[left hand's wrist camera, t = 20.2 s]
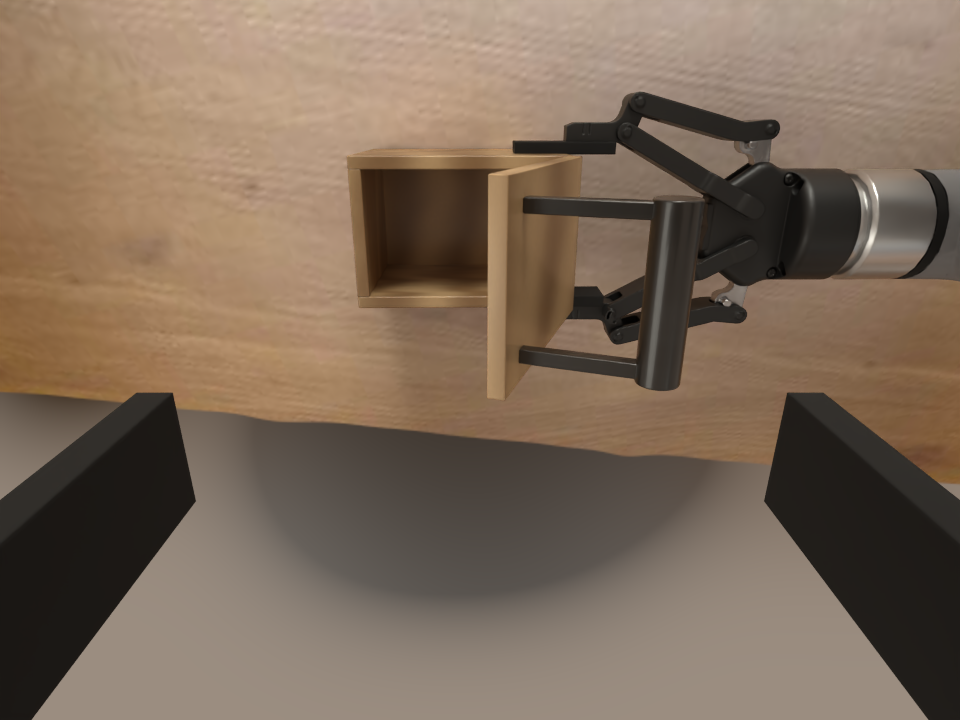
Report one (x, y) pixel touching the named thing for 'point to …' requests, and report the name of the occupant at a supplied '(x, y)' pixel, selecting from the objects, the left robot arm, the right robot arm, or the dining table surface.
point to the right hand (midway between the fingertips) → (512, 225)
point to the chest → (424, 224)
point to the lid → (551, 276)
